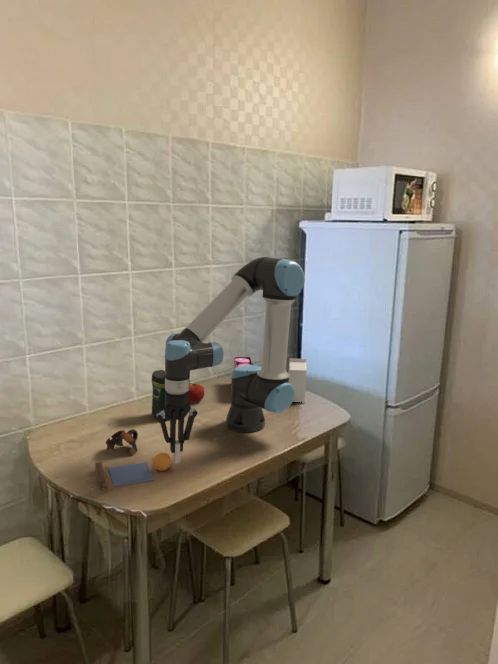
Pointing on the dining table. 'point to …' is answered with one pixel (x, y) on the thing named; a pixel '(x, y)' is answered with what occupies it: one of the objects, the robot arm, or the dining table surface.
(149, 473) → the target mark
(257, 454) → the dining table surface
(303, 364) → the milk carton
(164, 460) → the ball
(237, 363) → the gum box
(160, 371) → the coffee jar
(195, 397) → the tomato
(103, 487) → the stopper strip
